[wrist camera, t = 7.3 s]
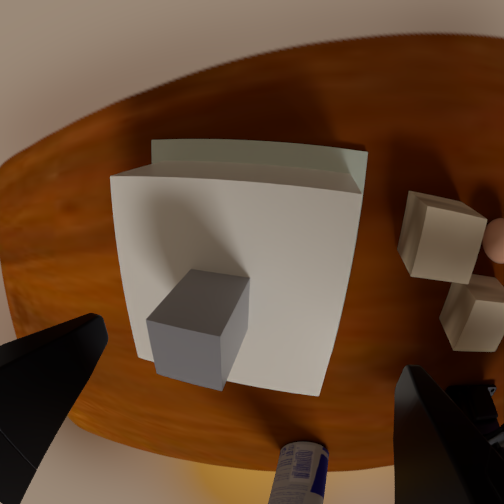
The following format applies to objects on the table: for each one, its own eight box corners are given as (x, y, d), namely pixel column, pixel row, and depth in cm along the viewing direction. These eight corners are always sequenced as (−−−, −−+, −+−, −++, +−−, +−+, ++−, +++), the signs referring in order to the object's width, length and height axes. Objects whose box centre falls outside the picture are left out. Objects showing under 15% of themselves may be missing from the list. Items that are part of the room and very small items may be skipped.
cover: (323, 336, 22) (311, 458, 12) (174, 311, 24) (104, 402, 15) (350, 173, 17) (381, 229, 8) (164, 160, 19) (45, 198, 10)
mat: (331, 349, 23) (331, 353, 22) (167, 320, 25) (165, 323, 25) (366, 151, 17) (367, 152, 16) (154, 139, 19) (151, 140, 19)
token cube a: (477, 320, 19) (494, 351, 15) (438, 317, 20) (453, 350, 16) (494, 277, 17) (518, 304, 14) (455, 271, 18) (475, 299, 14)
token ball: (500, 255, 16) (519, 273, 14) (471, 249, 17) (488, 268, 14) (511, 216, 15) (532, 230, 13) (481, 209, 16) (501, 222, 13)
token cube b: (447, 256, 18) (468, 284, 14) (396, 248, 19) (410, 276, 15) (460, 201, 16) (487, 219, 13) (408, 190, 17) (427, 206, 13)
